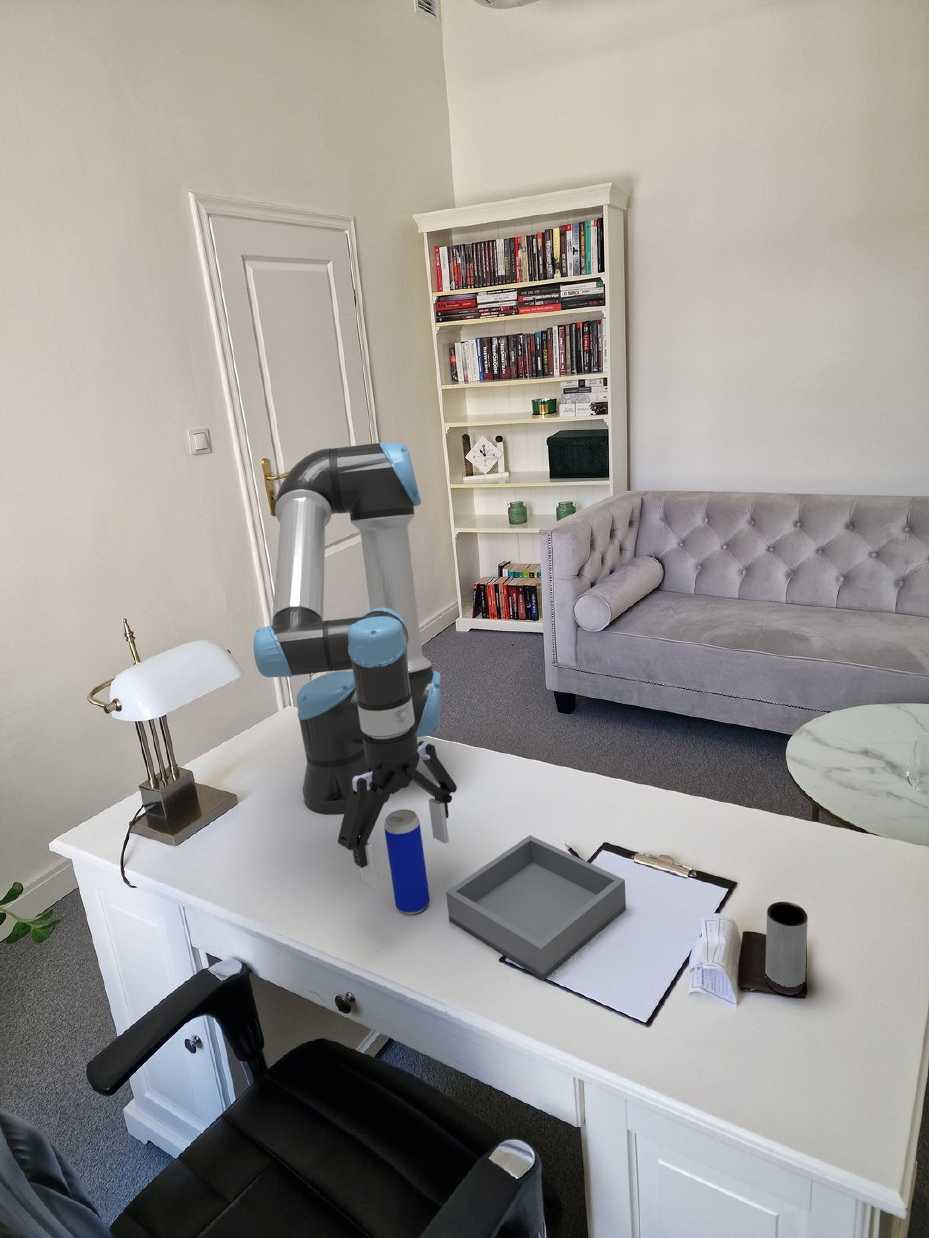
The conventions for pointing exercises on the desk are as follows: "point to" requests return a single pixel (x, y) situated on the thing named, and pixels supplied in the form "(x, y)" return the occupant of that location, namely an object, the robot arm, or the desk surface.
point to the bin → (536, 904)
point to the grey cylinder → (786, 944)
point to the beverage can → (407, 861)
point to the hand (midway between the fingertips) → (406, 860)
